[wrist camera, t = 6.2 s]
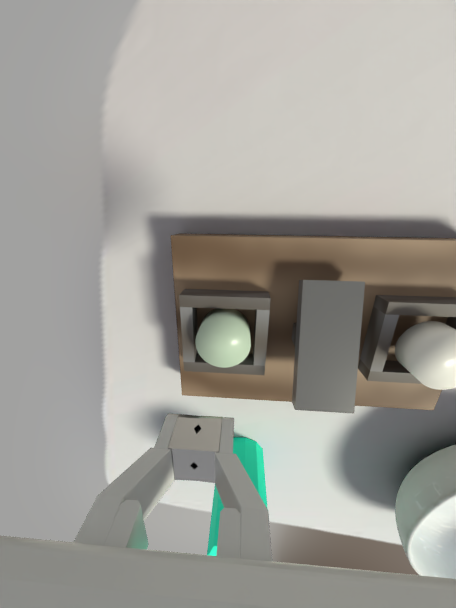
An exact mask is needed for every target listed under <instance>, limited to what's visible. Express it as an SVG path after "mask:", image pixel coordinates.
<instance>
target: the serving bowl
mask: <svg viewBox="0 0 456 608" xmlns="http://www.w3.org/2000/svg"><path fill="white" fill-rule="evenodd" d="M395 515H396V524H397V529H398V532H399V536H400V539H401V542H402V545H403V548H404V550H405V553H406V556H407V558H408V560H409V562H410V564H411V566H412V567H413V569H414V570H415V571H416V572H417V573H418V574H419V575H420V576H430V577H441V578H452V579H456V445H452V446H449V447H446V448H444V449H441V450H439V451H437V452H435V453H433V454H431V455H429V456H428V457H426V458H424V459H423V460H422V461H420V462H419V463H418V464H417V465H415V466H414V467H413V468H412V469H411V470H410V472H409V473H408V474H407V475H406V477H405V478H404V480H403V482H402V483H401V486H400V488H399V491H398V494H397V498H396V506H395Z"/></svg>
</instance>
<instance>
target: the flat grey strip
mask: <svg viewBox="0 0 456 608" xmlns="http://www.w3.org/2000/svg"><path fill="white" fill-rule="evenodd" d="M364 289H365V282H362V281H327V280H299V289H298V307H297V324H296V341H295V358H294V375H293V392H292V403H293V405H294V408H295V410H307V411H323V412H340V413H354V407H355V395H356V383H357V371H358V360H359V348H360V336H361V325H362V313H363V301H364Z"/></svg>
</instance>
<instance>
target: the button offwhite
mask: <svg viewBox="0 0 456 608" xmlns="http://www.w3.org/2000/svg"><path fill="white" fill-rule="evenodd" d="M395 356H396V359H397V360H398V362H399V363H400V364H401V365H402V366H403V367H405V368H406V369H407V370H408V371H409V372H410V373H411V374H412V375H413V376H414V377H415V378H417V379H418V380H419V381H420V382H421V383H422V384H423V385H425V386H427V387H429V388H432V389H438V390H445V389H452V388H456V329H454V328H452V327H450V326H448V325H446V324H444V323H441V322H437V321H427V322H422V323H419V324H416V325H414V326H412V327H410V328H409V329H407V330H406V331H405V332H404V333H403V334H402V335H401V336H400V337H399V339H398V341H397V343H396V346H395Z"/></svg>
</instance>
